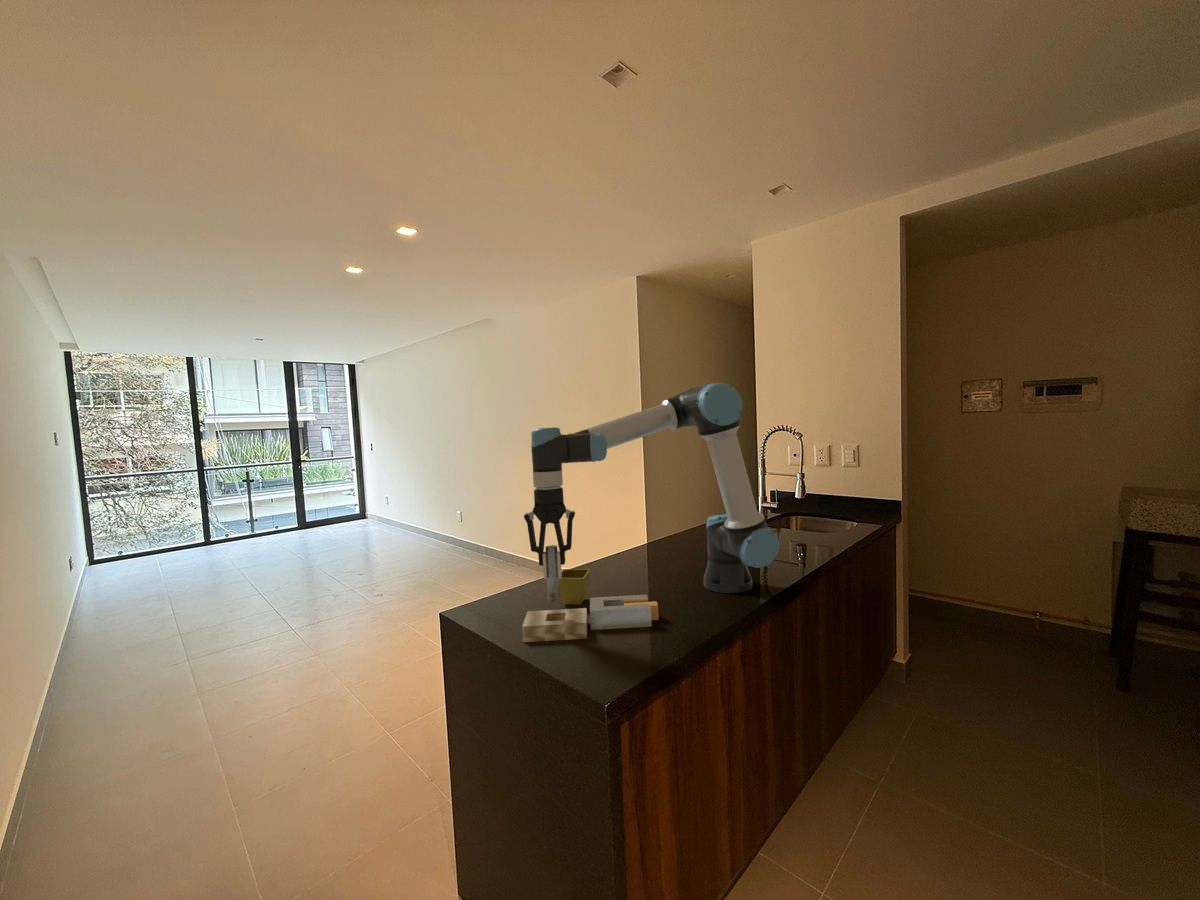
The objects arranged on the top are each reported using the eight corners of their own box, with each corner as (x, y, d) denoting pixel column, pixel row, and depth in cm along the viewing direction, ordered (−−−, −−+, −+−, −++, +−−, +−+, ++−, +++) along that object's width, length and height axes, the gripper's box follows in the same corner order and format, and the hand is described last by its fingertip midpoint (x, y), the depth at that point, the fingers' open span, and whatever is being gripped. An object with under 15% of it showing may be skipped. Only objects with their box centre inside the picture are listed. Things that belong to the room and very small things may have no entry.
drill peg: (560, 597, 125) (557, 545, 125) (559, 601, 122) (556, 547, 122) (548, 598, 125) (546, 545, 125) (547, 602, 122) (545, 548, 122)
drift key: (657, 615, 131) (656, 601, 131) (658, 619, 128) (657, 605, 128) (624, 617, 131) (623, 603, 131) (625, 621, 128) (624, 607, 128)
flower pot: (585, 608, 140) (583, 577, 140) (556, 607, 142) (555, 577, 142) (591, 597, 149) (590, 569, 148) (564, 596, 150) (563, 568, 150)
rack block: (587, 622, 129) (586, 608, 129) (586, 638, 119) (586, 622, 119) (528, 625, 129) (527, 611, 129) (523, 642, 119) (522, 626, 119)
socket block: (647, 611, 135) (646, 594, 134) (651, 626, 125) (650, 607, 124) (591, 615, 134) (590, 597, 134) (590, 629, 124) (589, 611, 124)
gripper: (579, 484, 127) (584, 571, 127) (519, 487, 126) (524, 574, 127) (578, 487, 119) (583, 580, 120) (514, 490, 119) (519, 583, 120)
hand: (552, 577), depth 124 cm, fingers closed on drill peg, 3 cm apart
